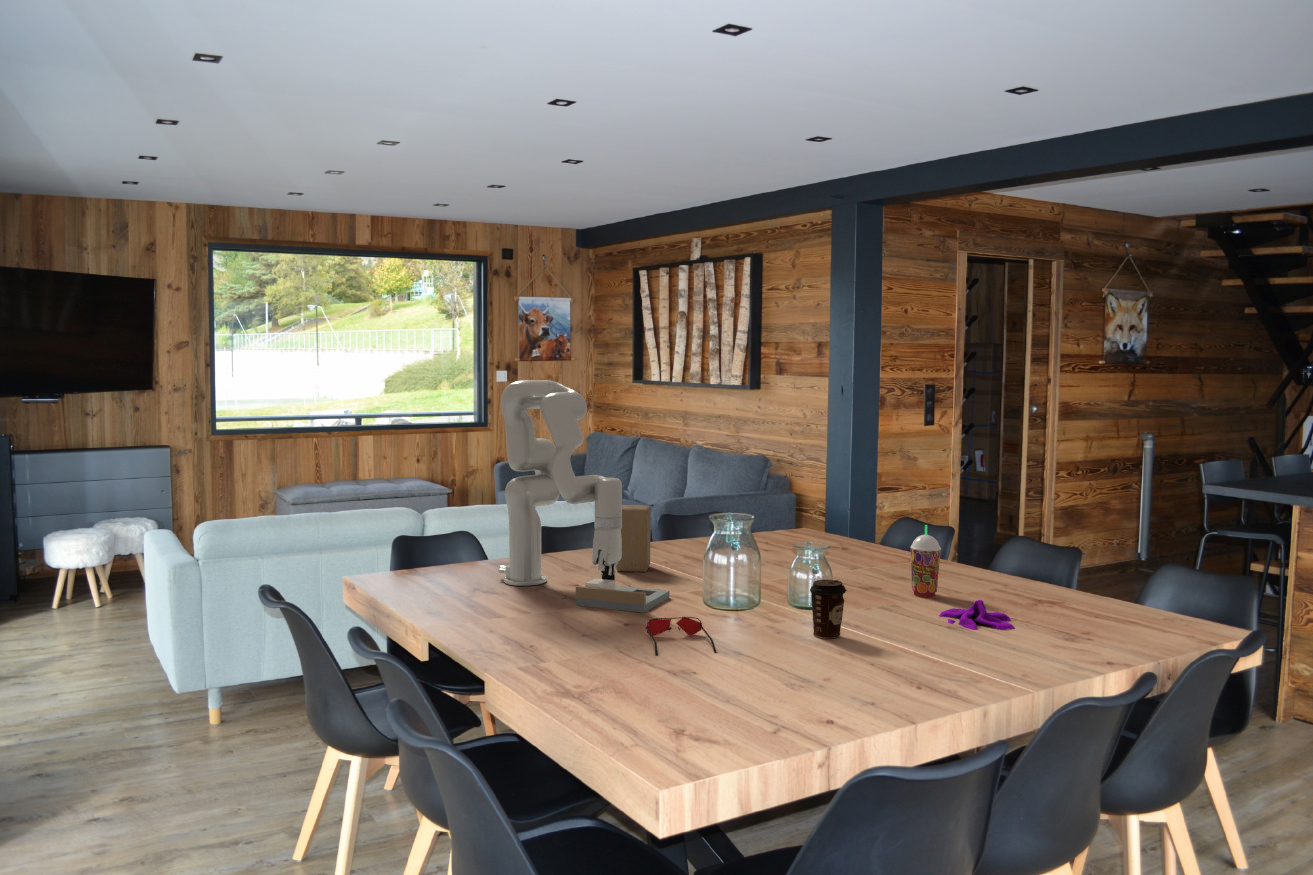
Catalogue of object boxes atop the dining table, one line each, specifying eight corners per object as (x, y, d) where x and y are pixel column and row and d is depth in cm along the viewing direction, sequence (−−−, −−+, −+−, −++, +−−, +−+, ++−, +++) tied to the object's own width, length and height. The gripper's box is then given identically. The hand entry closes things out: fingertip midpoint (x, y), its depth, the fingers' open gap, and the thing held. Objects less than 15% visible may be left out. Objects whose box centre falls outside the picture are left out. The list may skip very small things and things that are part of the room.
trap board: (575, 605, 264) (575, 586, 264) (604, 591, 281) (604, 574, 281) (644, 612, 257) (644, 593, 256) (669, 597, 273) (669, 580, 273)
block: (650, 566, 317) (650, 504, 315) (647, 572, 307) (647, 509, 305) (619, 565, 318) (619, 504, 316) (615, 572, 308) (615, 508, 306)
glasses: (701, 635, 237) (702, 614, 236) (716, 655, 220) (717, 633, 220) (644, 637, 235) (644, 616, 234) (655, 657, 218) (655, 635, 218)
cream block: (585, 597, 265) (585, 582, 264) (595, 592, 270) (595, 578, 270) (605, 599, 262) (605, 584, 262) (615, 594, 268) (615, 580, 268)
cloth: (935, 611, 262) (935, 588, 261) (1008, 615, 258) (1009, 592, 258) (941, 633, 240) (942, 608, 240) (1022, 638, 236) (1022, 613, 236)
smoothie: (907, 596, 276) (908, 526, 275) (911, 590, 284) (913, 522, 282) (938, 599, 273) (939, 528, 271) (941, 593, 281) (943, 524, 279)
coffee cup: (848, 633, 238) (849, 580, 237) (843, 641, 230) (844, 587, 229) (812, 629, 241) (813, 577, 240) (806, 638, 233) (807, 584, 232)
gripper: (607, 518, 278) (607, 582, 279) (583, 525, 264) (584, 593, 266) (631, 519, 275) (631, 584, 277) (609, 527, 262) (609, 595, 263)
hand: (608, 588), depth 271 cm, fingers closed
